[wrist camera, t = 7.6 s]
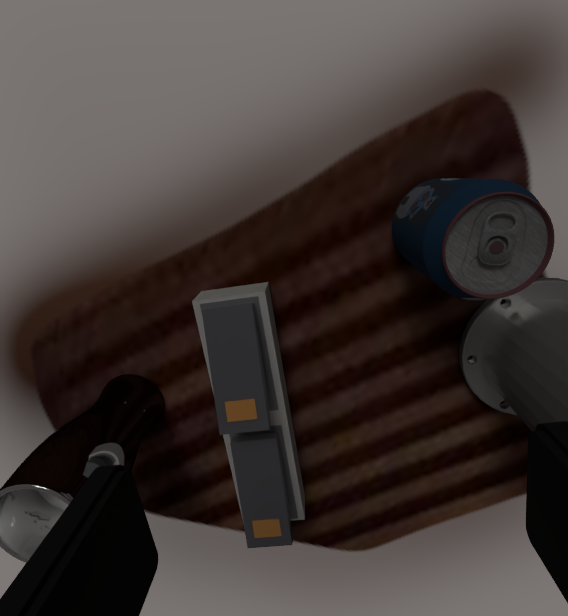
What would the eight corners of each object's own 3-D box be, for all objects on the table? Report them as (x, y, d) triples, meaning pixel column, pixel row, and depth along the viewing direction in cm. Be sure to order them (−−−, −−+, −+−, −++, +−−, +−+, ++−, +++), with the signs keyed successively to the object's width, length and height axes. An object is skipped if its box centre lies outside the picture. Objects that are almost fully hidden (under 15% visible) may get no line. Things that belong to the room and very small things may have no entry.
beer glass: (158, 441, 41) (79, 583, 27) (92, 418, 41) (-25, 549, 26) (177, 384, 39) (102, 504, 25) (107, 359, 38) (-11, 466, 24)
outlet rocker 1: (254, 302, 33) (251, 303, 31) (271, 424, 33) (269, 430, 32) (205, 309, 33) (201, 310, 32) (223, 429, 34) (219, 435, 32)
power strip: (201, 291, 36) (191, 301, 33) (268, 282, 35) (264, 291, 32) (248, 501, 43) (243, 525, 40) (304, 496, 42) (304, 520, 39)
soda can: (467, 267, 34) (548, 314, 23) (383, 262, 34) (421, 305, 23) (484, 180, 32) (583, 183, 20) (395, 175, 32) (444, 175, 21)
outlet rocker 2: (277, 431, 36) (275, 438, 35) (293, 535, 37) (292, 545, 36) (232, 436, 36) (229, 443, 35) (250, 538, 37) (247, 548, 36)
